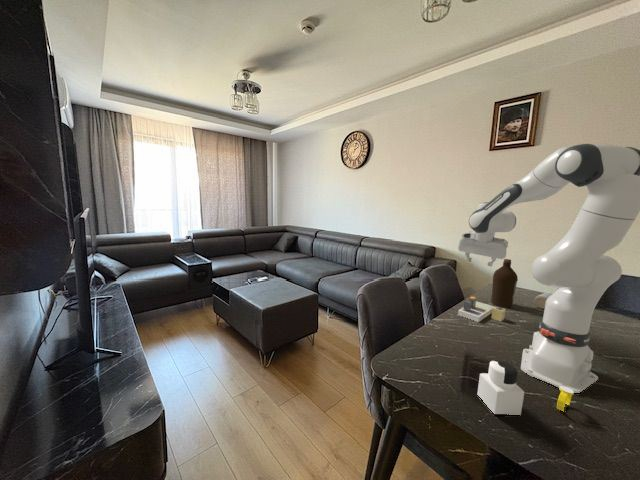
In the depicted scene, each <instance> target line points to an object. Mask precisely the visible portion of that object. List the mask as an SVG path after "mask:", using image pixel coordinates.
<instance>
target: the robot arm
mask: <svg viewBox="0 0 640 480" xmlns="http://www.w3.org/2000/svg"><path fill="white" fill-rule="evenodd" d="M569 183H571V184H573V185H574V186H576V187H578V188H580V187H581V188H582V187H585V186H586V187H587V190H588V193H587V196H586V199H585V201H584V202H583V204H582V206H581V208H580V210H579V212H578V214H577V216H576V218H575V219H574V222H572V225H571V227H570V228H569V229H568V231H567V233H566V234H565V235H564V236H563V237H562V238H561V239H560V240H559V241H558V242H557V243H556V244H555V245H554V246H553V247H552V248H551V249H549V250H548V251H547V252H545V253H544V254H542V255H539V256H537V257H536V258H535V259H534V260H533V261H532V264H531V269H530V271H531V274H532V276H533V278H534V279H535V281H536V282H538V283H539V284H541V285H545V286H549V287H553V288H557V289H556V291H554V292H553V293H551V294H552V295H551V296H549V297H548V298H547V300H546V303H545V309H543V317H542V319H541V320H540V323H539V328H538V330H537V331H535V332H533V336H532V342H531V343H532V344H529V345H528V348H523V350H522V354H521V355H522V356H521V362H520V363H521V364H520V370H521V371H522V372H523V373H525V374H526V373H527V375H529V376H530V377H532V378H533V377H535V378H537V379H540V380H542V381H545V382H547V383H550V384H552V385H554V386H556V387H558V388H559V387H560V386H565V387H568V388H570V389H571V390H573V391H574V393H580V392H582V391H583V390H585V389H586V388H587V387H589V386H590V385H591V384H593V383H594V382H595V383H597V382H598V381H599V376H598V375H597V374H595V373H594V372H592V364H593V362H594V360H593V358H594V351H593V350H592V349H591V348H590V346H589V343H590V340H591V332H590V327H591V326H590V325H591V323H592V322H591V321H592V318H593V314H594V310H595V308H596V307H597V304H598V303H599V301H600V300H601V297H602V296H603V295H604V294H605V292H606V291H607V289H608V288H609V287H611V285H613V284H614V283H615V282H617V281H619V279H621V276H622V273H623V271H622V266H621V264H620V263H619V262H618V260H616V259H615V258H613V257H611V256H608V255H605V254H606V253H607V252H609V251H610V250H612V249H615V248H616V247H618V246H619V245H620V244H621V242H622V241H623V240H624V237H626V235H627V233H628V232H629V231H630V229H631V227H632V225H633V223H634V222H635V221H636V219H637V217H638V216H639V214H640V149H638V148H636V147H632V146H622V145H615V144H611V143H610V144H609V143H596V144H594V143H593V144H592V143H582V144H581V143H580V144H576V145H572V146H565V147H560V148H559V149H556V150H555V151H554V152H552V153H551V154H549V155H548V156H547V157H545V158H544V159H543V160H542V161H541V162H539V163H538V165H536V166H535V167H534V168H533V169H532V170H531V171H530V172H529V173H528V174H526V175H525V176H523V177H522V178H521V179H519V180H518V181H516V182H514V183H513V184H511V185H509V186H507V187H506V188H505V189H504V190H502V191H501V192H499V193H498V194H497V195H496V196H494V197H493V198H492V199H491V200H490V201H489V202H481V203H479V204H478V205H477V208H476V209H475V210H474V211H473V213H472V214H471V215H470V216H469V218H468V219H469V220H468V225H469V228H470V229H471V231H468V232H464V233H461V238H460V240H459V242H458V246H457V247H458V248H457V249H458V251H459V252H463V253H464V255H465V257H466V262H469V263H470V262H472V257H470V255H471V254H473V255H477V256H483V257H489V258H490V260H491V261H488V262H487V266H488V267H493V264H494V262H495V261H497V259H499V260H504V259H506V257H507V249H508V247H509V242H508V241H507V240H506V239H505V238H499V237H495V236H496V235H495V234H496V233H508V232H511V231H513V229H514V228H515V227H516V225H517V216H516V215H515V213H514V212H512V211H510V210H509V211H508V210H507V209H508V208H510V207H511V206H514V205H518V204H521V203H529V202H536V201H537V202H538V201H541V200H542V201H543V200H546V199H548V198H550V197H552V196H553V195H555V194H557V193H558V192H560V191H561V190H563V188H565V187H566V186H567V185H568V184H569ZM535 378H534V379H535ZM537 379H536V380H537ZM597 380H598V381H597ZM542 381H541V382H542ZM596 381H597V382H596ZM595 383H594V384H595ZM594 384H593V385H594ZM591 386H592V385H591ZM591 386H590V387H591ZM590 387H589V388H590ZM558 388H557V389H558ZM587 389H588V388H587ZM587 389H586V390H587ZM586 390H585V391H586ZM583 392H584V391H583ZM583 392H582V393H583Z"/></svg>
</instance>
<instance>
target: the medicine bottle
mask: <svg viewBox="0 0 640 480" xmlns="http://www.w3.org/2000/svg"><path fill="white" fill-rule="evenodd" d="M518 374H519V373H518V370H517V369H516V367H515V366H514V365H512V364H510V363H509V362H506V361H503V360H499V359H494V360H493V359H492V360H491V361H490V362H489V365H488V373H485V372H482V373H479V376H478V377H479V378H478V379H479V380H478V386H477V393H476V394H477V395H478V396H479V397H480V398H481V399H482V400H483V402H484V403H485V404H486V405H487V407H488V408H489V409H490V410H491V411H492V412H493V413H494V414H507V415H508V414H509V415H520V416H521V415H522V409H523V403H524V396H525V391H524V390H523V389H522V388H521V387H520V386H519V385H518V384H517V379H518ZM477 395H476V396H477ZM478 396H477V397H478ZM479 397H478V398H479ZM480 398H479V399H480ZM481 399H480V400H481ZM483 402H482V403H483ZM484 403H483V404H484ZM485 404H484V405H485ZM486 405H485V406H486ZM487 407H486V408H487ZM488 408H487V409H488ZM489 409H488V410H489ZM490 410H489V411H490ZM491 411H490V412H491ZM492 412H491V413H492Z"/></svg>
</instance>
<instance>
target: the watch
mask: <svg viewBox="0 0 640 480" xmlns="http://www.w3.org/2000/svg"><path fill="white" fill-rule="evenodd" d="M559 391H560V393H559V396H558V399H557V403H556V409H557V410H558V409H559V410H558V411H560V410H561V411H563V412H564V407H565V404H567V405H569V406H570V404H571V400H572V396H574V395H575V394H574V391H573V390H571V389H570V388H568V387H565V386H560V387H559ZM561 411H560V412H561ZM563 412H562V413H563Z"/></svg>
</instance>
